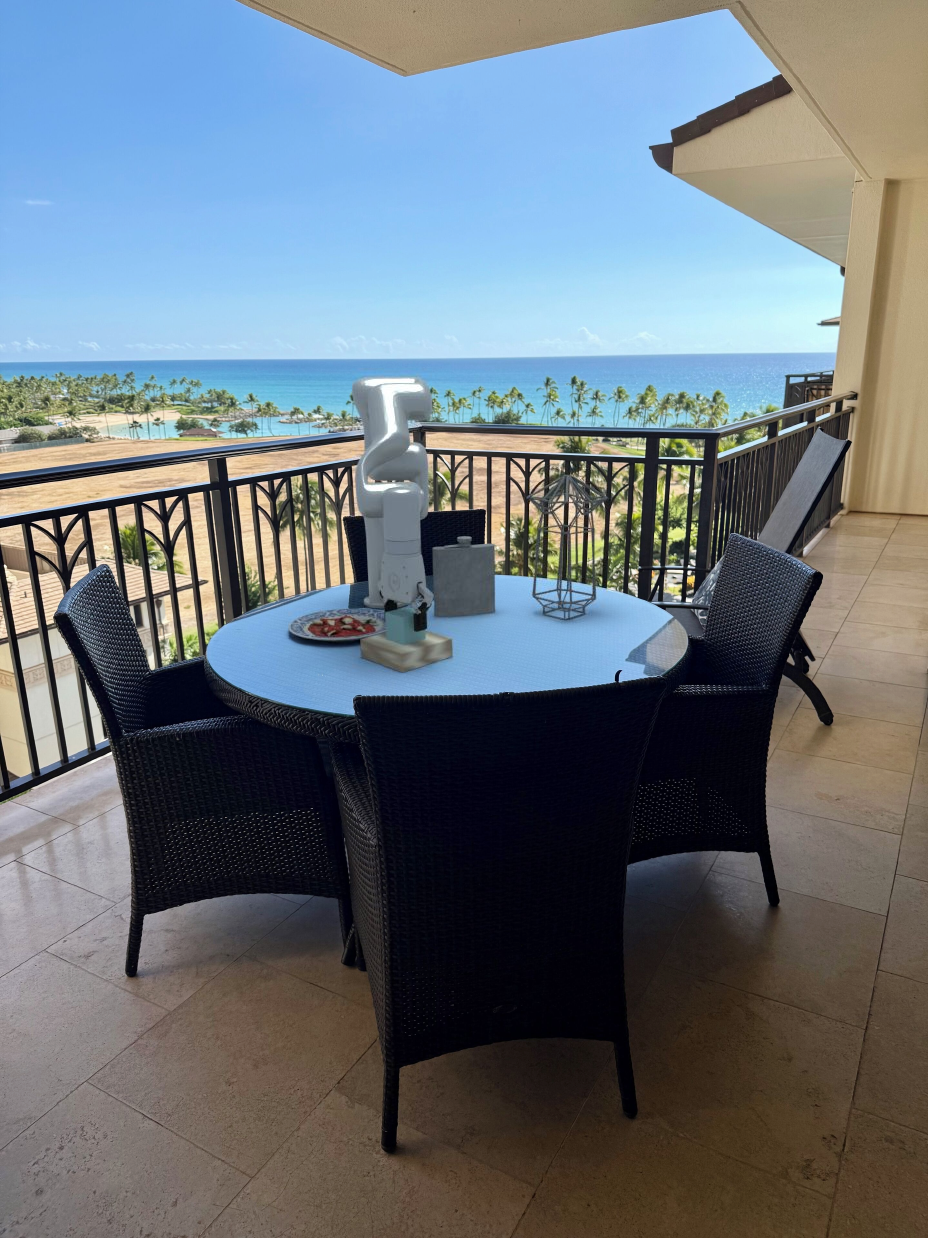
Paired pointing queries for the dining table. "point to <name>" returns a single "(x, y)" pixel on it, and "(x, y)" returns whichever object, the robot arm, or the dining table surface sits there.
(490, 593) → the hip flask
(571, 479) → the geometric lantern
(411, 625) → the teal cube
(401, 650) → the birch base
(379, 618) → the ceramic plate
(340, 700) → the dining table surface
